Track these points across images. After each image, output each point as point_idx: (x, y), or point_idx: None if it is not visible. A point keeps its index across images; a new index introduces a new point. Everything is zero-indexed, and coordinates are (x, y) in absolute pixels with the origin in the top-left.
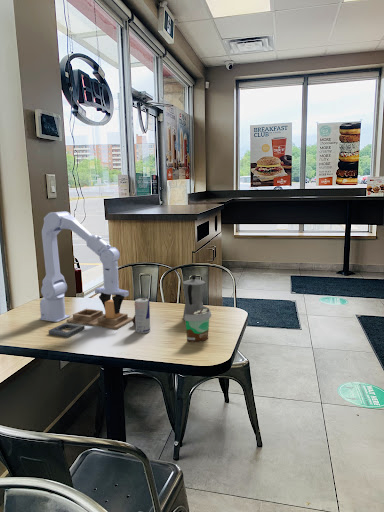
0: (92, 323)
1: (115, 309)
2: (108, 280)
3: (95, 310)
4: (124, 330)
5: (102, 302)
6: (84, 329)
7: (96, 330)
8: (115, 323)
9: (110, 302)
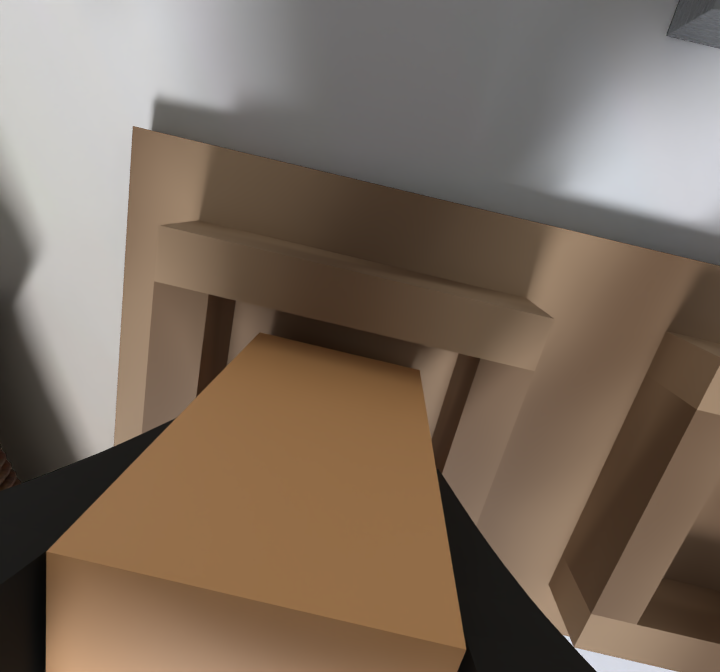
0: (601, 253)
1: (148, 444)
2: None
3: (699, 653)
4: (32, 111)
5: (574, 661)
6: (670, 29)
7: (448, 30)
8: (191, 224)
9: (207, 617)
